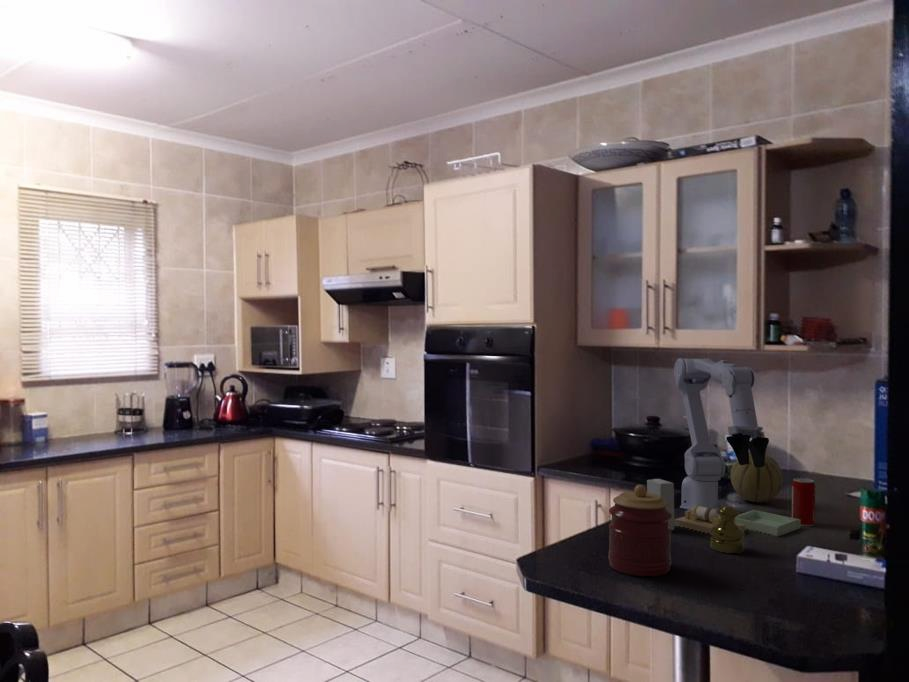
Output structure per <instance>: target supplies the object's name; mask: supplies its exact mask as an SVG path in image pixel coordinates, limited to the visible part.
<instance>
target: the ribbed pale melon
mask: <svg viewBox="0 0 909 682" xmlns="http://www.w3.org/2000/svg"><path fill="white" fill-rule="evenodd" d="M730 482H731V484H732V488H733V489H734V491H735V492H736V494H737V495H739V496H740V497H741V498H742V499H744V500H746V501H748V502H750V503H751V502H752V503H766V502H770V501H772V500H773V499H775V498H776V497H777V496H778V495H779V494H780V492H781V491H782V487H783V483H784V476H783V472H782V469H781V467H780V466H779V464H778V462H777V461H776V460H775V459H774V458H773V457H771V456H769V455H767V454H765V463H764V467H758V468H755V466H754V463H753V460H752V456H751V453H750V452H749V464H747V465H740V464H739V462H738V460H736V461H734V463H733V465H732V467H731V470H730Z"/></svg>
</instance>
